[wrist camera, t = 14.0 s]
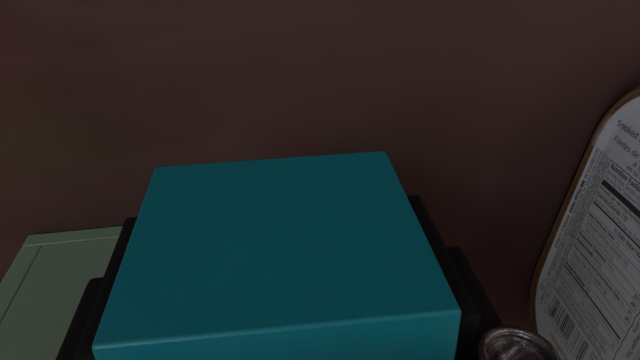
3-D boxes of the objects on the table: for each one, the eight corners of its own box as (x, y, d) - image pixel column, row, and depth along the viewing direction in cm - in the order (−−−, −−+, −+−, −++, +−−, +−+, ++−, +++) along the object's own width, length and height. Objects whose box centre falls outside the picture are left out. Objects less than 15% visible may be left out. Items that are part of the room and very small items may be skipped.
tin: (553, 322, 28) (660, 473, 21) (499, 322, 28) (591, 478, 21) (681, 49, 21) (910, 138, 14) (613, 42, 21) (815, 130, 13)
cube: (386, 149, 11) (463, 311, 7) (379, 316, 14) (434, 511, 10) (154, 165, 11) (88, 347, 7) (189, 334, 14) (158, 546, 9)
